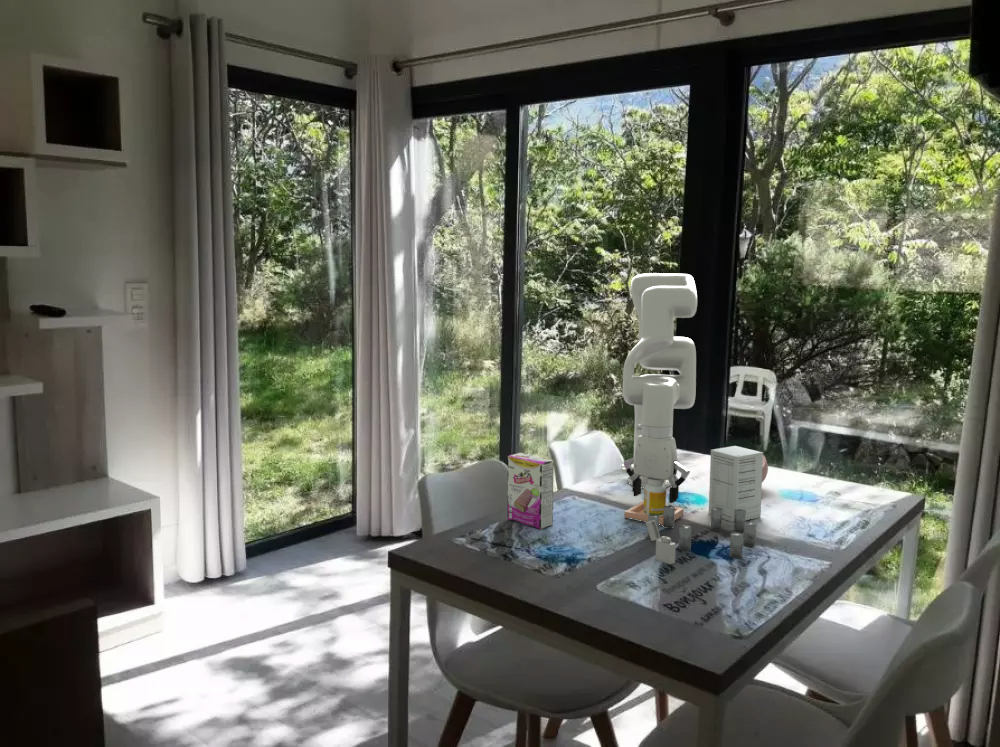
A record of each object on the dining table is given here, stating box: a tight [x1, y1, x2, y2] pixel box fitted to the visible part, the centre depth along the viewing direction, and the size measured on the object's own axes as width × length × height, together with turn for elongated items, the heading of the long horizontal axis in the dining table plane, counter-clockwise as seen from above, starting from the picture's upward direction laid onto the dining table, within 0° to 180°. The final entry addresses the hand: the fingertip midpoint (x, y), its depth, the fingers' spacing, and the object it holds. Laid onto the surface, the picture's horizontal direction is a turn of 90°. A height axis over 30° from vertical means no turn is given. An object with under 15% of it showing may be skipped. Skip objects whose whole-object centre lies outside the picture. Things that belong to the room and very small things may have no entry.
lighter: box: [645, 520, 677, 565], centre depth 178 cm, size 7×2×8 cm, turn 40°
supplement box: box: [708, 445, 764, 523], centre depth 207 cm, size 10×9×17 cm
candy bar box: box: [506, 452, 555, 530], centre depth 201 cm, size 11×5×16 cm, turn 47°
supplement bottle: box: [643, 477, 667, 517], centre depth 206 cm, size 5×5×10 cm
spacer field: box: [646, 504, 757, 560], centre depth 191 cm, size 23×22×5 cm
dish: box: [624, 500, 685, 525], centre depth 207 cm, size 11×11×2 cm
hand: (654, 498), depth 206 cm, fingers open, 9 cm apart
